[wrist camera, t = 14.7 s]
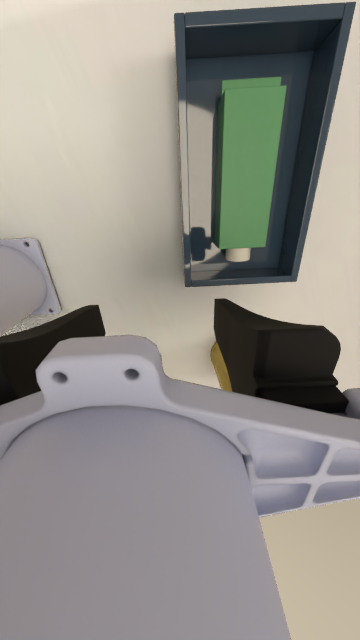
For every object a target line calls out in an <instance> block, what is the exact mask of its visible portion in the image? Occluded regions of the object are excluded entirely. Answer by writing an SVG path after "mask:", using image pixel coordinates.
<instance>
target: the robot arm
mask: <svg viewBox="0 0 360 640" xmlns="http://www.w3.org/2000/svg"><path fill="white" fill-rule="evenodd" d="M26 241H27V242H28V243H29V246H28V245H27V244H26ZM50 308H51V309H53V311H52V310H51V309H50ZM60 312H61V307H60V304H59V301H58V298H57V295H56V292H55V289H54V286H53V283H52V280H51V277H50V274H49V271H48V268H47V265H46V263H45V260H44V257H43V254H42V251H41V248H40V245H39V242H38V241H37V240H36V239H35V238H21V239H3V240H0V336H1V335H2V334H4V333H5V332H7V331H8V330H9V329H11V328H12V327H13V326H15V325H16V324H17V323H19V322H20V321H21V320H23V319H24V318H25V317H27V316H28V315H46V314H59V313H60ZM214 331H215V336H216V341H217V343H218V346H219V349H220V352H221V354H222V357H223V360H224V362H225V365H226V368H227V371H228V375H229V379H230V384H231V388H232V392H230V391H226V390H221V389H217V388H212V387H208V386H203V385H199V384H194V383H190V382H185V381H181V380H176V379H172V378H169V377H168V376H166V375H165V373H164V371H163V367H162V358H161V354H160V352H159V350H158V347H157V345H156V344H154V343H153V342H151V341H150V340H149V339H147V338H146V337H140V336H134V335H121V336H105V329H104V325H103V321H102V317H101V313H100V309H99V305H88V306H85V307H82V308H79V309H77V310H75V311H73V312H71V313H68V314H66V315H64V316H62V317H59V318H57V319H55V320H52V321H50V322H48V323H45V324H43V325H40V326H37V327H34V328H31V329H28V330H24V331H21V332H17V333H13V334H10V335H5V336H1V337H0V640H291V638H290V633H289V630H288V626H287V622H286V618H285V614H284V611H283V607H282V603H281V600H280V596H279V592H278V588H277V584H276V581H275V577H274V573H273V570H272V565H271V562H270V558H269V554H268V550H267V547H266V543H265V539H264V536H263V531H262V528H261V524H260V520H259V518H260V517H265V516H270V515H275V514H280V513H285V512H290V511H296V510H301V509H306V508H311V507H316V506H321V505H326V504H331V503H337V502H342V501H348V500H354V499H360V388H353V389H347V390H345V391H344V392H343V393H341V391H340V390H339V389H338V388H337V387H336V385H338V381H337V379H336V378H335V377H334V376H333V372H334V369H335V367H336V364H337V361H338V359H339V355H340V351H341V347H340V342H339V340H338V339H337V337H336V336H335V335H333V334H332V333H331V332H330V331H329V330H327V329H326V328H325V327H324V326H317V325H302V324H294V323H288V322H282V321H278V320H274V319H270V318H266V317H264V316H261V315H258V314H255V313H253V312H251V311H248V310H246V309H244V308H242V307H240V306H238V305H237V304H235V303H233V302H231V301H229V300H227V299H225V298H223V299H215V306H214Z"/></svg>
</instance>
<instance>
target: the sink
mask: <svg viewBox="0 0 360 640" xmlns="http://www.w3.org/2000/svg"><path fill="white" fill-rule="evenodd" d="M355 5H356V2H347V3H329V4H313V5H298V6H282V7H266V8H251V9H235V10H219V11H204V12H188V13H185V14H184V13H175V14H174V54H175V78H176V102H177V126H178V151H179V175H180V199H181V223H182V247H183V271H184V283H185V287H191V286H192V287H200V286H220V285H239V284H258V283H278V282H296V281H297V277H298V272H299V267H300V263H301V258H302V253H303V249H304V244H305V239H306V234H307V230H308V225H309V220H310V216H311V211H312V206H313V202H314V197H315V192H316V188H317V183H318V178H319V174H320V169H321V164H322V160H323V155H324V150H325V145H326V141H327V136H328V131H329V127H330V122H331V117H332V113H333V108H334V103H335V99H336V94H337V89H338V85H339V80H340V75H341V70H342V66H343V61H344V56H345V52H346V47H347V42H348V38H349V33H350V28H351V24H352V19H353V14H354V10H355ZM269 77H281V85H280V86H284V85H286V86H287V87H286V94H285V102H284V109H283V117H282V124H281V132H280V140H279V147H278V155H277V162H276V170H275V177H274V185H273V192H272V200H271V208H270V215H269V223H268V230H267V238H266V245H265V247H256V248H251V251H250V259H249V260H248V261H243V262H233V261H228V260H226V249H218V248H217V247H216V246H215V244H214V242H215V202H216V163H217V123H218V105H219V102H220V100H221V82H222V80H236V79H252V78H269Z"/></svg>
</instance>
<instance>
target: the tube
mask: <svg viewBox="0 0 360 640" xmlns="http://www.w3.org/2000/svg"><path fill="white" fill-rule="evenodd" d="M280 85H281V77H269V78H252V79H236V80H222V82H221V100H220V102H219V105H218V123H217V163H216V202H215V242H214V244H215V246H216V247H217V248H218V249H226V260H228V261H233V262H243V261H248V260H249V259H250V251H251V248H256V247H265V245H266V238H267V230H268V223H269V215H270V208H271V200H272V192H273V185H274V177H275V170H276V162H277V155H278V147H279V140H280V132H281V124H282V117H283V109H284V102H285V94H286V87H287V86H286V85H284V86H280Z"/></svg>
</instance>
